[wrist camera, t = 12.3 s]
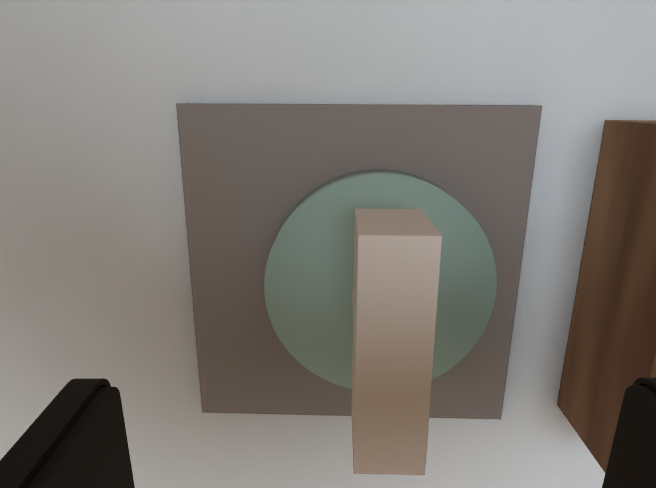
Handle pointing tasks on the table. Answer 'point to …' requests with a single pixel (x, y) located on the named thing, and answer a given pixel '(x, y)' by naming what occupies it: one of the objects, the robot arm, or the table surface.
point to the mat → (294, 185)
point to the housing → (614, 288)
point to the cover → (381, 301)
